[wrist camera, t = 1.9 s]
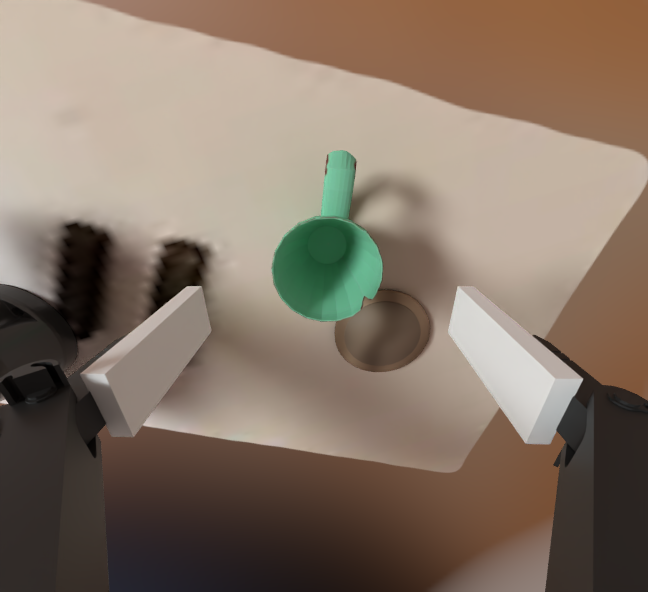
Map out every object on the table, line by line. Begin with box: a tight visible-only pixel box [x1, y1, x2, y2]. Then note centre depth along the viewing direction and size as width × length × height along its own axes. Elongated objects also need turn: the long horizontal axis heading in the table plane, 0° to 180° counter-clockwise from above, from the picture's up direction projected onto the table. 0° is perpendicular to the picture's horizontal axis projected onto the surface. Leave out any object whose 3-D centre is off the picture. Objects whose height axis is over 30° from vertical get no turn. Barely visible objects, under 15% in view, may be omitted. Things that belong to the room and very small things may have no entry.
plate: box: [335, 290, 430, 372], centre depth 38 cm, size 13×13×1 cm
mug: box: [272, 150, 383, 322], centre depth 27 cm, size 15×10×10 cm
